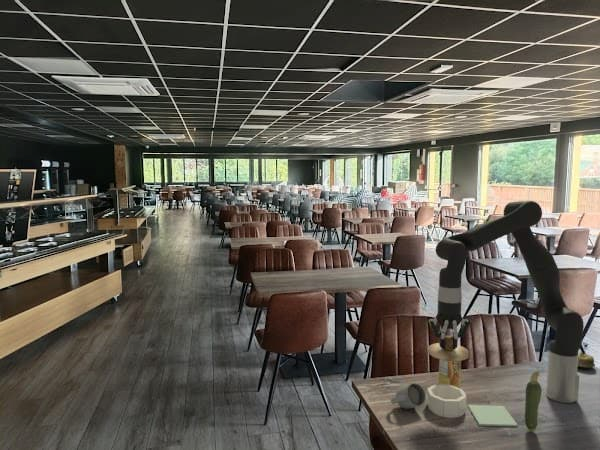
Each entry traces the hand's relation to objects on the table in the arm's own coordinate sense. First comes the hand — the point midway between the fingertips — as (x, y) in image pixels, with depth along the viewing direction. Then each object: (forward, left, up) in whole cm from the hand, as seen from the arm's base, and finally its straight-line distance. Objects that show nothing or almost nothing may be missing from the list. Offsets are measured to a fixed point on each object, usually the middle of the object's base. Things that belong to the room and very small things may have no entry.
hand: (448, 348), depth 154 cm
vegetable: (-23, +12, -22) cm, 34 cm away
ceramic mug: (+14, +2, -22) cm, 26 cm away
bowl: (0, 0, -22) cm, 22 cm away
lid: (0, 0, -2) cm, 2 cm away
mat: (-14, +4, -22) cm, 26 cm away
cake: (-66, -41, -22) cm, 81 cm away
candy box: (-5, -15, -22) cm, 27 cm away
